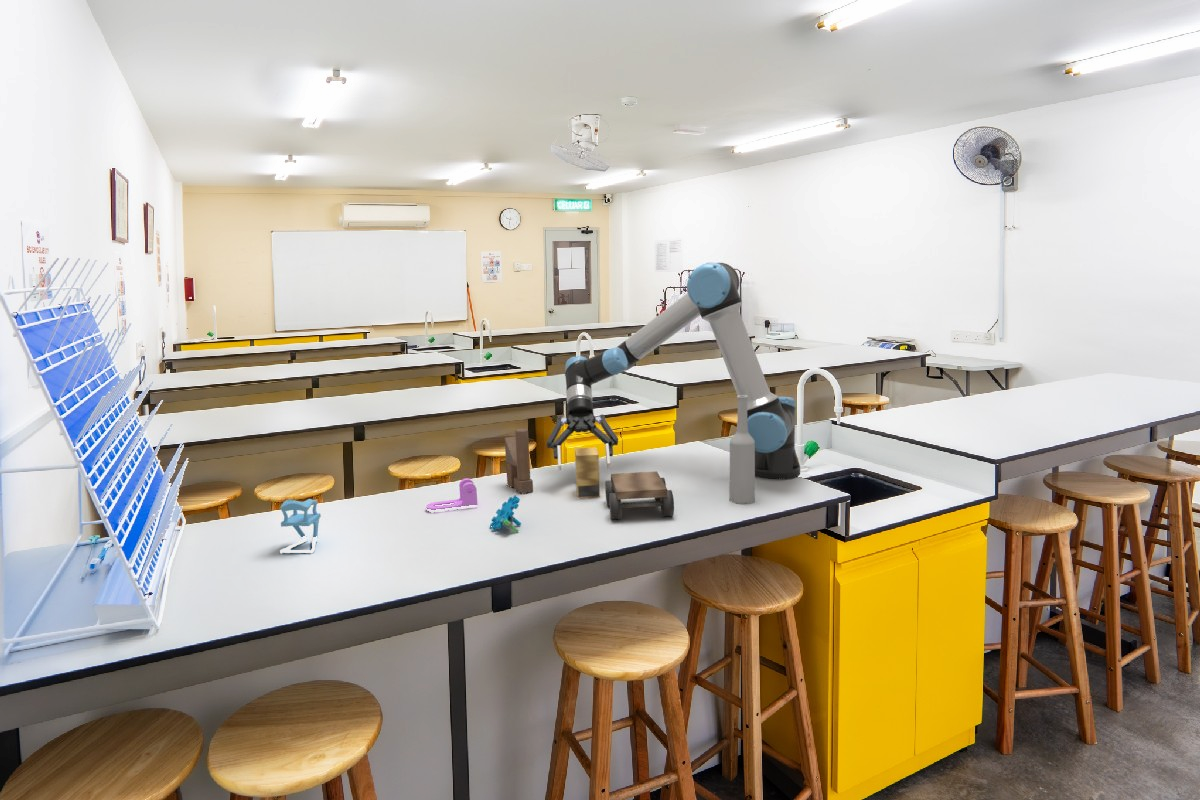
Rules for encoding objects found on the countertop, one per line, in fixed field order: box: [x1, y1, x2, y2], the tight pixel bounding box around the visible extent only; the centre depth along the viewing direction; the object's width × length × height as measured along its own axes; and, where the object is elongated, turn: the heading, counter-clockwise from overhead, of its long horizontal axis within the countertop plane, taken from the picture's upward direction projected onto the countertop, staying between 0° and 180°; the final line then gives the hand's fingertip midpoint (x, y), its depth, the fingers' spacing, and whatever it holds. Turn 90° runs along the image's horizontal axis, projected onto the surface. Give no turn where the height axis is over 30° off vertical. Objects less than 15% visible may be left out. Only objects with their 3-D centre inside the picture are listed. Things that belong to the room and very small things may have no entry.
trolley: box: [604, 471, 675, 520], centre depth 189 cm, size 15×17×8 cm
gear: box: [489, 495, 522, 533], centre depth 179 cm, size 11×6×10 cm
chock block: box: [574, 447, 601, 499], centre depth 203 cm, size 6×8×12 cm
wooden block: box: [504, 427, 534, 494], centre depth 209 cm, size 4×11×18 cm, turn 30°
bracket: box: [425, 477, 478, 510], centre depth 195 cm, size 13×6×7 cm, turn 109°
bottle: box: [728, 395, 756, 505], centre depth 192 cm, size 7×7×28 cm
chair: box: [280, 498, 322, 538], centre depth 170 cm, size 8×8×12 cm
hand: (584, 467), depth 204 cm, fingers open, 13 cm apart
